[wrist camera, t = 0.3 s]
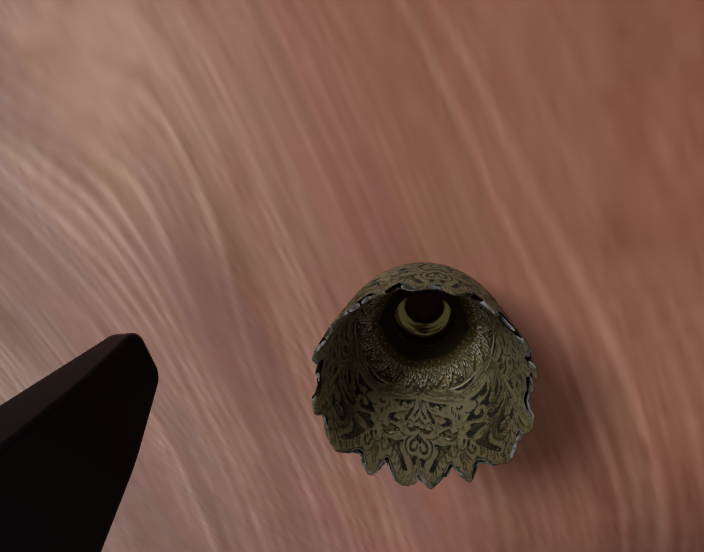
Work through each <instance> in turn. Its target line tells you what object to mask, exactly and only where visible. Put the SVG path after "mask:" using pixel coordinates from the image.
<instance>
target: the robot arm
mask: <svg viewBox="0 0 704 552" xmlns="http://www.w3.org/2000/svg"><path fill="white" fill-rule="evenodd" d="M157 385H158V371H157V367H156V365H155V363H154V361H153V359H152V357H151V355H150V353H149V351H148V349H147V347H146V345H145V343H144V341H143V339H142V338H141V337H140V336H139V335H138V334H135V333H126V334H115V335H112V336H110V337H108V338H106V339H105V340H103V341H102V342H100V343H99V344H97V345H95V346H94V347H92V348H91V349H89V350H87V351H86V352H84V353H83V354H81V355H80V356H78V357H76V358H75V359H73V360H72V361H70V362H68V363H67V364H65V365H64V366H62V367H61V368H59V369H57V370H56V371H54V372H53V373H51V374H49V375H48V376H46V377H45V378H43V379H42V380H40V381H38V382H37V383H35V384H34V385H32V386H30V387H29V388H27V389H26V390H24V391H23V392H21V393H19V394H18V395H16V396H15V397H13V398H12V399H10V400H8V401H7V402H5V403H4V404H2V405H0V552H101V551H102V548H103V545H104V543H105V540H106V538H107V535H108V533H109V530H110V528H111V525H112V522H113V520H114V517H115V515H116V512H117V510H118V507H119V505H120V502H121V499H122V497H123V494H124V492H125V489H126V487H127V484H128V482H129V479H130V476H131V474H132V471H133V468H134V465H135V462H136V459H137V456H138V453H139V449H140V446H141V442H142V438H143V435H144V431H145V428H146V424H147V420H148V417H149V413H150V410H151V406H152V403H153V399H154V395H155V392H156V388H157Z"/></svg>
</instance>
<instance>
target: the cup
mask: <svg viewBox="0 0 704 552" xmlns="http://www.w3.org/2000/svg"><path fill="white" fill-rule="evenodd" d="M417 293H430V294H433V295H436V296H438V297H439V298H440V300H441V303H442V311H441V313H440V315H439V316H438V317H437V318H436V319H435V320H434V321H431V322H428V323H421V322H418V321H415V320H414V319H412V318H411V317H410V315H409V314H408V312H407V301H408V299H409V297H410V296H411V295H413V294H417ZM312 362H314V363H315V364H318V365H317V368H316V376H317V388H316V392H315V394H314V395H313V396H312V406H313V411H314V414H315V415H322V416H323V421H324V430H325V433H326V435H327V438H328V440H329V442H330V444H331V445H332V447H333V449H334V450H335V451H337V452H340V453H357V454H361V455H360V456H361V457H362V460H361V459H360V460H361V462H362V465H363V468H364V470H365V471H366V472H367V474H368V475H374V474H375V473H377V472H378V471H379V470H380V469H381V468H382V466H383V465H384V464H385V463H388V467H389V470H390V472H391V474H392V476H393V479H394V480H395V481H396V482H398V483H399V484H401V485H403V486H409V485H413V484H416V482H417V481H418V480H420V482H423V483H424V484H425V485H426V487H427V488H429V489H432V488H434V487H435V486H436V485H437V484H438V483H439V482H440V481H441V480H442V479H443V477H447V476H448V475H449V473H450V469H451V468H454V469H455V470H456V471H457V472H458V474H459V476H461V477H462V478H464V479H465V480H466V481H467V482H471V481H472V480H473V478H474V476H475V473H476V470H477V466H478V465H479V464H483V463H487V464H490V465H491V466H494V465H498V464H503V463H508V462H510V461H511V459H512V458H513V456H514V454H515V452H516V449H517V446H518V443H519V442H520V441H521V437H522V434H524V433H526V434H529V432H530V431H531V430H532V428H533V426H534V414H533V412H532V410H531V406H530V402H529V398H530V393H531V392H532V391H533V382H532V375H533V376H534V375H535V377H537V378H538V373H537V369H536V366H535V364H534V362H533V360H532V358H531V350H530V348H529V346H528V344H527V342H526V340H525V339H524V338H523V336H522V335H521V334H520V333H519V332H518V331H517V329H516V328H515V327H514V325H513V324H512V322H511V321H510V319H509V318H508V316H507V315H506V314H505V312H504V311H503V309H502V308H501V307H500V305H499V304H498V303H497V301H496V300H495V299H494V298H493V297H492V295H491V294H490V293H489V292H488V291H487V290H486V289H485V288H484V287H483V286H482V285H480V284H479V283H478V282H477V281H476V280H474V279H473V278H471V277H470V276H468V275H467V274H465V273H463V272H461V271H459V270H457V269H454V268H451V267H449V266H445V265H441V264H435V263H411V264H405V265H402V266H398V267H395V268H393V269H390V270H388V271H385V272H384V273H382V274H380V275H378V276H377V277H375V278H374V279H373V280H371V281H370V282H369V283H367V284H366V285H365V286H364V287H363V288H362V289H361V290H360V291H359V292H358V293H357V294H356V295H355V296H354V298H353V299H352V300H351V301H350V302H349V303H348V305H347V306H346V307H345V308H344V310H343V311H342V312H341V313H340V315H339V316H338V317H337V318H336V319H335V320H334V322H333V323H332V324H331V326H330V327H329V328H328V330H327V332H326V333H325V335H324V337H323V338H322V340H321V341H320V343H319V344H318V346H317V348H316V350H315V352H314V354H313V357H312ZM384 460H386V462H384V463H383V461H384ZM382 463H383V464H382ZM381 464H382V465H381ZM380 465H381V466H380Z"/></svg>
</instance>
